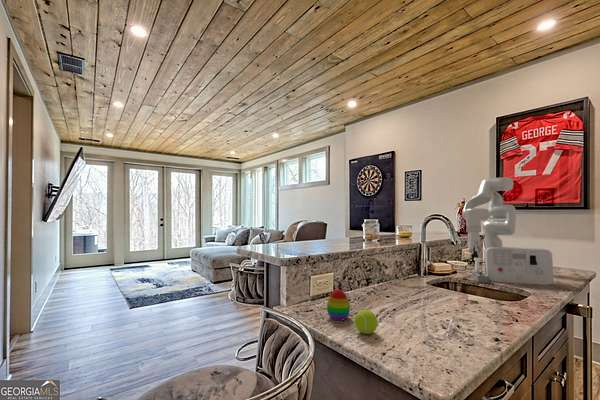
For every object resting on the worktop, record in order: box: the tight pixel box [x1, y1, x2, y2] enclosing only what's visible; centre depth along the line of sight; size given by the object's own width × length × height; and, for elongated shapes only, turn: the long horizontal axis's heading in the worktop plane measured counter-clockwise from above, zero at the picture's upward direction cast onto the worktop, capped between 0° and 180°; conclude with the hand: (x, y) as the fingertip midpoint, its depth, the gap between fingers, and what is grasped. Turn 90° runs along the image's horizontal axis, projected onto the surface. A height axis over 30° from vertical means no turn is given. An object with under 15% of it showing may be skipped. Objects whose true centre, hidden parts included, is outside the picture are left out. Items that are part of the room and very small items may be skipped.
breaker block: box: [471, 269, 490, 284], centre depth 158 cm, size 15×5×4 cm, turn 160°
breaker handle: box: [474, 257, 481, 274], centre depth 162 cm, size 3×2×9 cm
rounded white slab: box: [483, 246, 554, 286], centre depth 151 cm, size 29×8×18 cm, turn 69°
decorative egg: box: [326, 288, 351, 321], centre depth 103 cm, size 8×8×10 cm
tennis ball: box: [354, 309, 378, 335], centre depth 90 cm, size 7×7×7 cm
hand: (474, 260), depth 168 cm, fingers closed
